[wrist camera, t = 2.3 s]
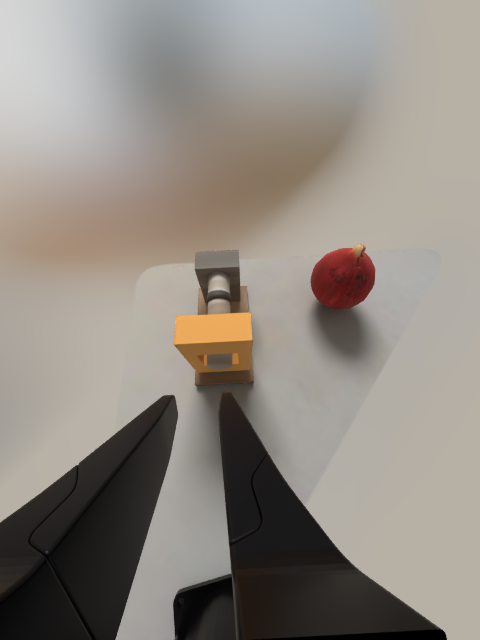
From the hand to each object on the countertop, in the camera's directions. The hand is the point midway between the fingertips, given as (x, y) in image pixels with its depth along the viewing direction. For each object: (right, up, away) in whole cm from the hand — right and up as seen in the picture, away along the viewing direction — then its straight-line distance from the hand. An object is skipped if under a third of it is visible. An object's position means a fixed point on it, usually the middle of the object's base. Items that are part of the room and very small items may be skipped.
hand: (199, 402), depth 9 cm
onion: (+12, +6, +17) cm, 22 cm away
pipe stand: (0, +2, +16) cm, 16 cm away
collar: (0, -1, +13) cm, 13 cm away
